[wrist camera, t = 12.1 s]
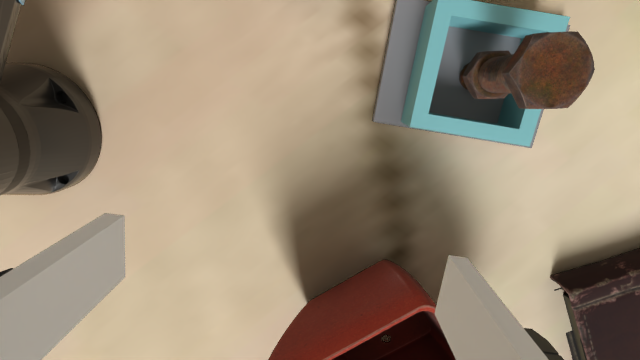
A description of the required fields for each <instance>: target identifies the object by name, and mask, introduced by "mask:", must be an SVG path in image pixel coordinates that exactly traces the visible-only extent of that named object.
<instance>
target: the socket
mask: <svg viewBox="0 0 640 360" xmlns="http://www.w3.org/2000/svg"><path fill="white" fill-rule="evenodd" d="M569 19H570V17H567V16H562V15H556V14H550V13H544V12H538V11H532V10H526V9H520V8H514V7H508V6H502V5H496V4H490V3H484V2H478V1H472V0H433V1H431V2H430V1H424V0H396V1H395V6H394V11H393V16H392V21H391V26H390V31H389V36H388V42H387V47H386V52H385V57H384V62H383V67H382V72H381V77H380V82H379V88H378V93H377V98H376V103H375V108H374V113H373V118H372V121H373V122H377V123H383V124H389V125H395V126H401V127H408V128H414V129H420V130H426V131H432V132H438V133H444V134H450V135H456V136H462V137H468V138H474V139H480V140H486V141H492V142H498V143H504V144H510V145H516V146H522V147H528V148H532V145H533V142H534V139H535V136H536V133H537V129H538V126H539V123H540V120H541V117H542V113H543V110H544V109H521V108H518V106H517V104H516V102H515V100H514V98H513V96H512V94H511V93H508V95H507V96H506V97H505V98H499V99H474V98H473V97H472V95H471V94H470V92H469V90H466V89H465V88H464V87H463V86H462V85H461V83H460V81H459V75H460V72H461V70H462V69H463V67H464V66H465V65H466V64H468V63H469V62H470V61H471V60H472V58H473V57H474V56H475V54H476V53H478V52H484V51H509V52H510V53H511V54H514V53H515V52H516V50H517V48H518V47H519V45H520V44H521V42H522V41H523V39H524V38H525V36H526V35H530V34H535V33H547V32H568V30H569V27H570V25H568V22H569Z"/></svg>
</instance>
